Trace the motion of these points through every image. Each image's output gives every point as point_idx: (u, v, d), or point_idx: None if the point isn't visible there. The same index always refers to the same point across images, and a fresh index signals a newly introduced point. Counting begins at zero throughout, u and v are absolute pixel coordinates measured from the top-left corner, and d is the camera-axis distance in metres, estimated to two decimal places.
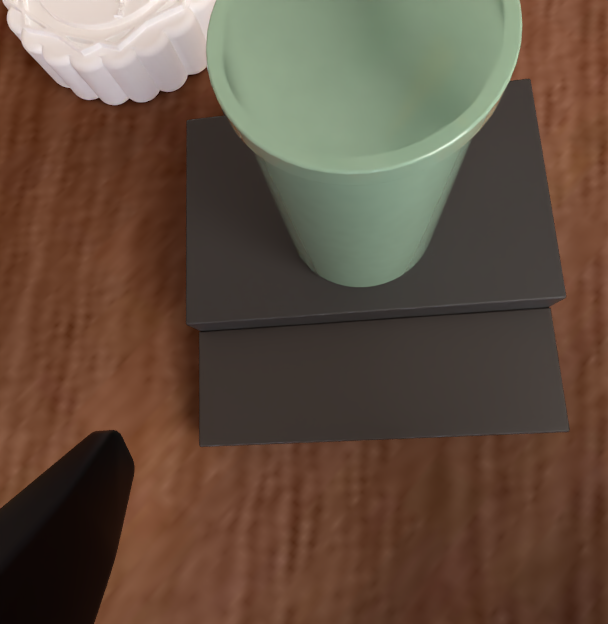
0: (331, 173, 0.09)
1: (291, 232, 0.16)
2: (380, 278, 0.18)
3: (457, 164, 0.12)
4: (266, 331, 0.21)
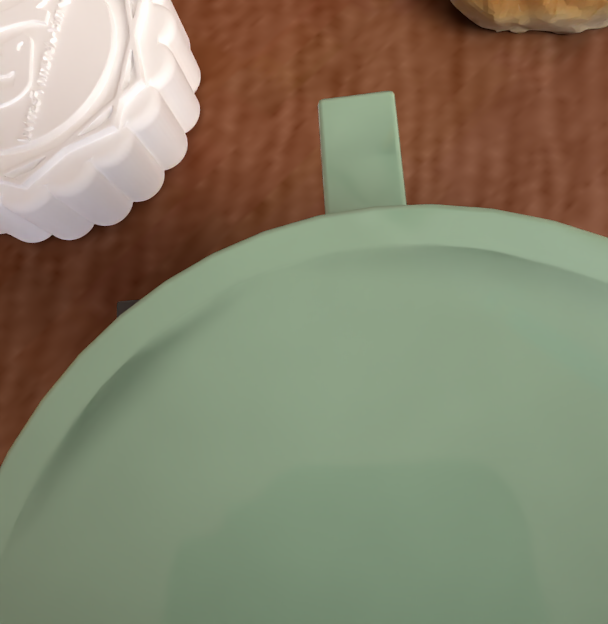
0: None
1: None
2: None
3: None
4: None
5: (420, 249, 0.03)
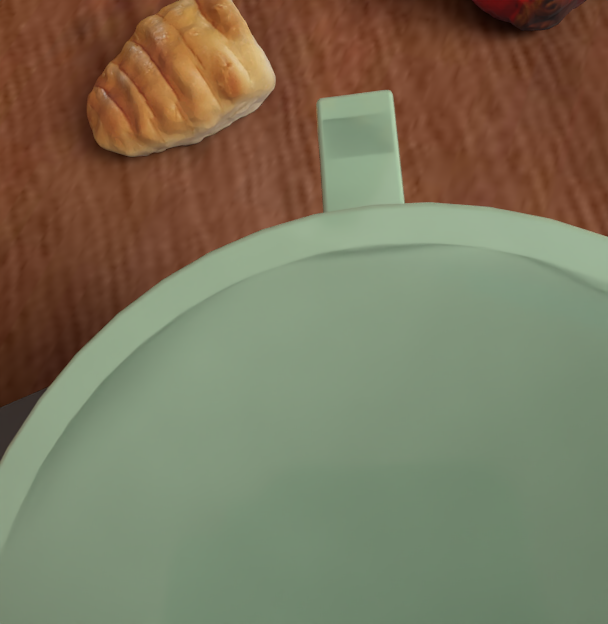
0: None
1: None
2: None
3: None
4: None
5: (417, 247, 0.03)
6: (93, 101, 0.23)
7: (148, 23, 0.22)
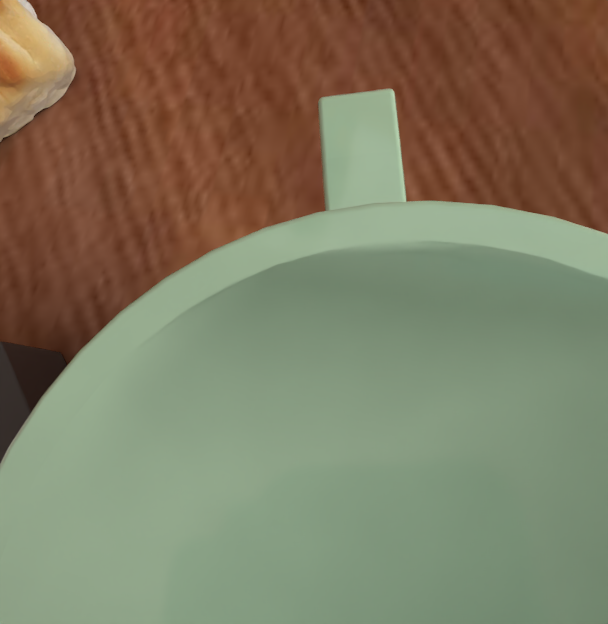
0: None
1: None
2: None
3: None
4: None
5: (421, 246, 0.03)
6: None
7: None
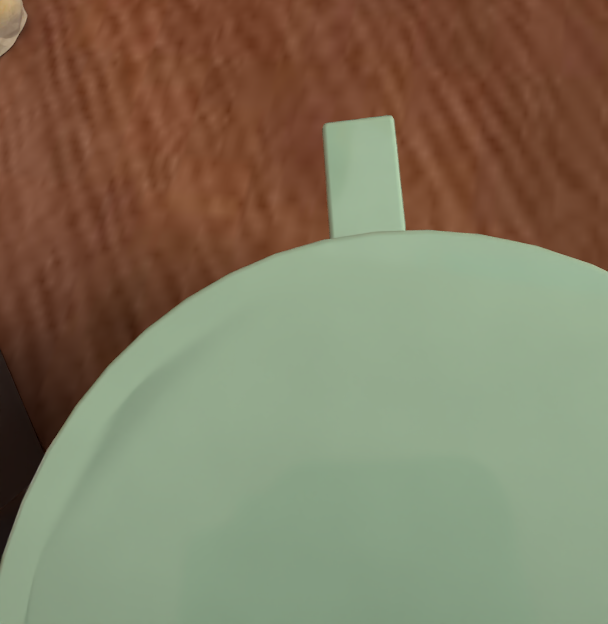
0: None
1: None
2: None
3: None
4: None
5: (417, 270, 0.04)
6: None
7: None
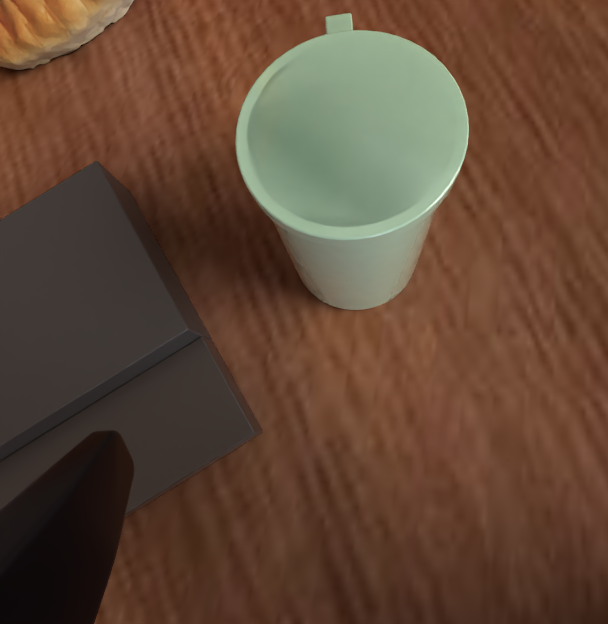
0: (329, 239, 0.13)
1: (297, 267, 0.19)
2: (372, 303, 0.21)
3: (427, 222, 0.15)
4: None
5: (351, 40, 0.14)
6: None
7: None
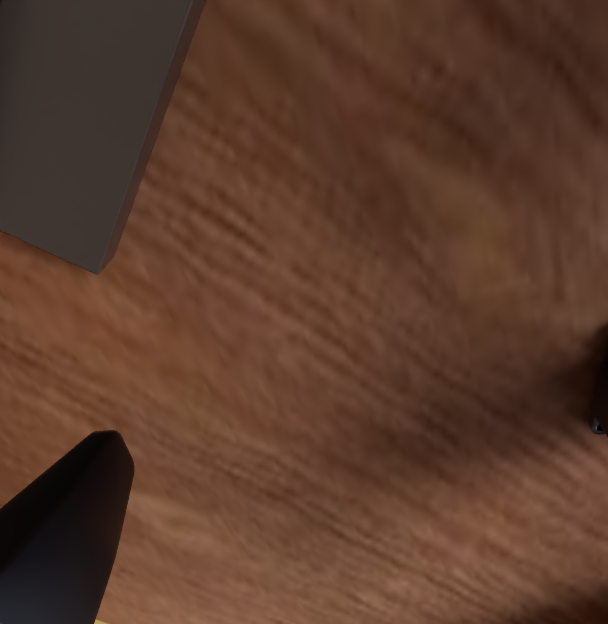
0: None
1: None
2: None
3: None
4: None
5: None
6: None
7: None
